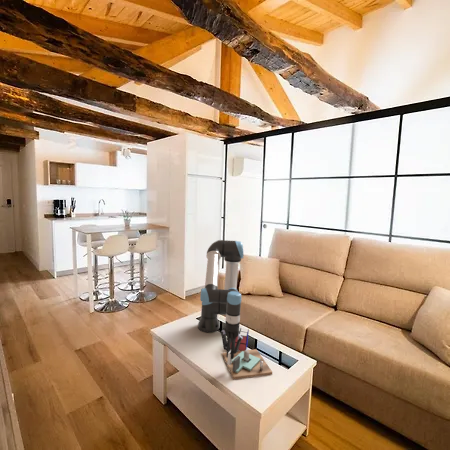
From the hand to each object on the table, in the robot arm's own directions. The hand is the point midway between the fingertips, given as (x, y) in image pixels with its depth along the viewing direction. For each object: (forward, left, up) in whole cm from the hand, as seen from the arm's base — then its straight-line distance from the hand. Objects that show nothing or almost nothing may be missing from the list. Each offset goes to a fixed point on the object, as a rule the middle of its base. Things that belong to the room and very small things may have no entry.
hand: (229, 363), depth 139 cm
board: (-4, +11, -4) cm, 12 cm away
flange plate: (-1, +8, -2) cm, 9 cm away
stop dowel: (+5, +17, -3) cm, 17 cm away
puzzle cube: (-22, +13, -4) cm, 26 cm away
